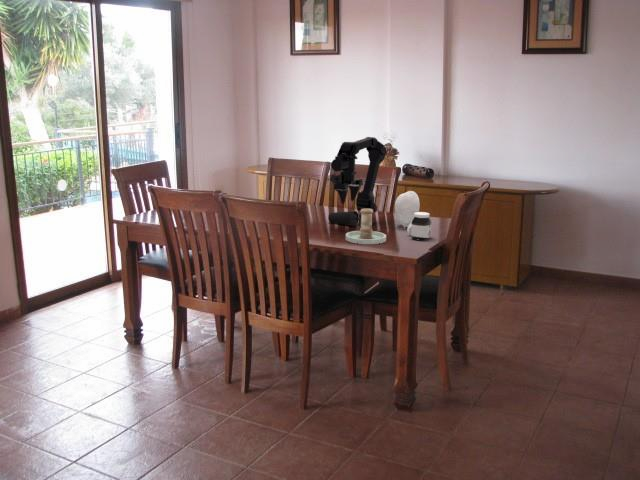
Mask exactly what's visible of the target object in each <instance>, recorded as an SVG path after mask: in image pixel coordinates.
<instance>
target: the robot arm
mask: <svg viewBox="0 0 640 480" xmlns="http://www.w3.org/2000/svg"><path fill="white" fill-rule="evenodd" d="M364 149H366V151H367V152H368V155H367V156H368V160H369V163H368V164H369V165H368V169H367V173H366V176H365V180H364V181H363V180H362V178H355V176H356V174H357V171H356V160H358V156H356V155H358V154H359V153H360V151H362V150H364ZM387 151H388V150H387V148H386V146H385V145H384V143H382V142H380V141H379V140H378V139H377V138H376V137H373V136H367V137H364V138H362V139H358V140H355V141H343V142H341V145H340V147H339V150H338V152H337V155H336V156H334V159H333V160H332V162H331V163H330V165H331V167H330V168H331V169H332V170H333V171H334V172H339V173H340V174H338V175H337V174H330V178H329V182H331V183H332V184H333V186H332V187H333V190H334V191H336V192H337V193H338V195H339V198H340V203H341V204H344V205H345V203H346V199H347V196H348V193H349V190H350V193H349V194H350V201H352V202H354V200H355V204H356V210H357V212H358V211H360V212H361V209H364V208H368V209H372V210H373V214H372V226H373V225H374V213H377V211H378V206H377V204H376V202H375V196H374V188H375V185H376V181H377V176H378V172H379V168H380V164H381V163H383V161H384V160H385V158H386V156H387V153H388V152H387ZM363 183H364V185H363ZM362 186H363V188H362ZM361 188H362V190H361V191H360V189H361ZM360 212H359V213H358V216H359V218H361V213H360ZM358 224H359V225H361V220H359V221H358Z"/></svg>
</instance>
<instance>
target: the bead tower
mask: <svg viewBox="0 0 640 480" xmlns="http://www.w3.org/2000/svg"><path fill="white" fill-rule="evenodd" d="M359 213H361V224H360V228H359V231H360V232H361V234H360V238H361V239H372V235H371V232H372V231H374V230H373V227H372V226H373V225H372V214H373V215H374V212H373V210H372V209H368V208H364V209H361V212H359Z"/></svg>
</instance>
